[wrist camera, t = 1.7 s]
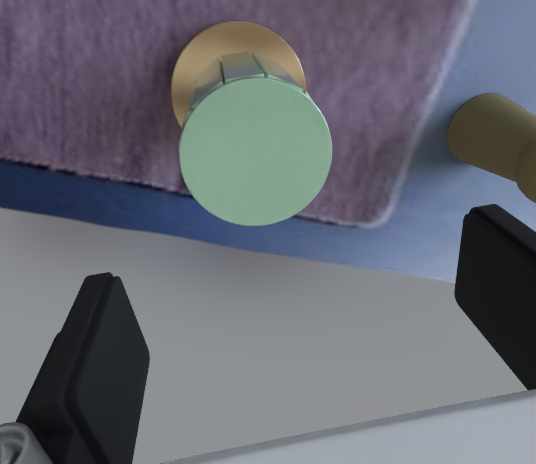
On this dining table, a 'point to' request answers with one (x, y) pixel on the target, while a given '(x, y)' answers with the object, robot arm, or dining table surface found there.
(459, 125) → the olive pawn figure
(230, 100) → the green grooved cylinder
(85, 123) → the dining table surface
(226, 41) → the disc
